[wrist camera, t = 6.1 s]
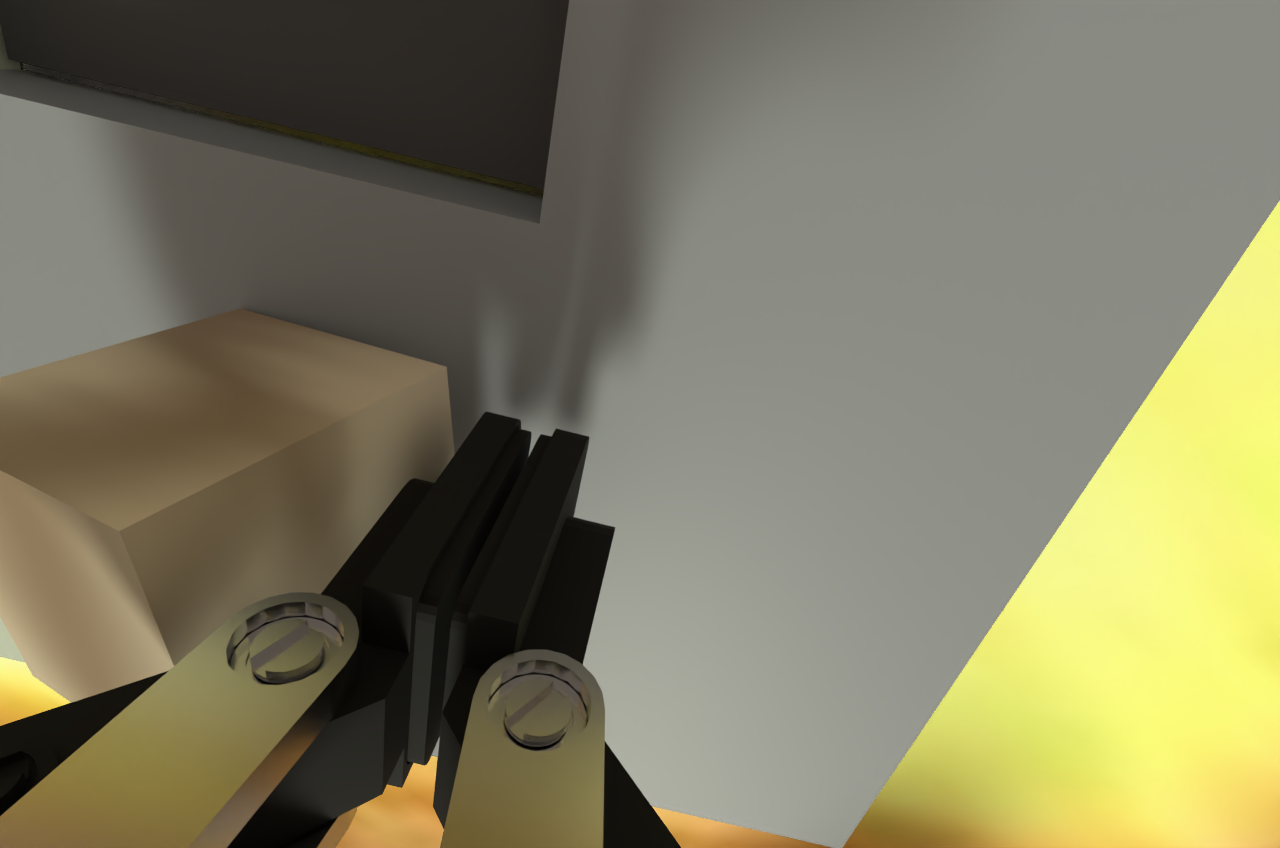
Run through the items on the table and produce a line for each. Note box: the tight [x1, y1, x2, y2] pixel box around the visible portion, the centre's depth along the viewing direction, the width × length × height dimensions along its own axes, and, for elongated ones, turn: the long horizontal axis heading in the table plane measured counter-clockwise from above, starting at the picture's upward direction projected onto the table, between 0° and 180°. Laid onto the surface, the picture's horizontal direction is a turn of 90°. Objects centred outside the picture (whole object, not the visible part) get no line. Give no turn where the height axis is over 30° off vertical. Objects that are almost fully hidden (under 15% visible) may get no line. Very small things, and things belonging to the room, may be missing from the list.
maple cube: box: [0, 308, 455, 702], centre depth 10 cm, size 4×4×4 cm
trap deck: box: [0, 0, 1280, 848], centre depth 13 cm, size 28×20×2 cm
